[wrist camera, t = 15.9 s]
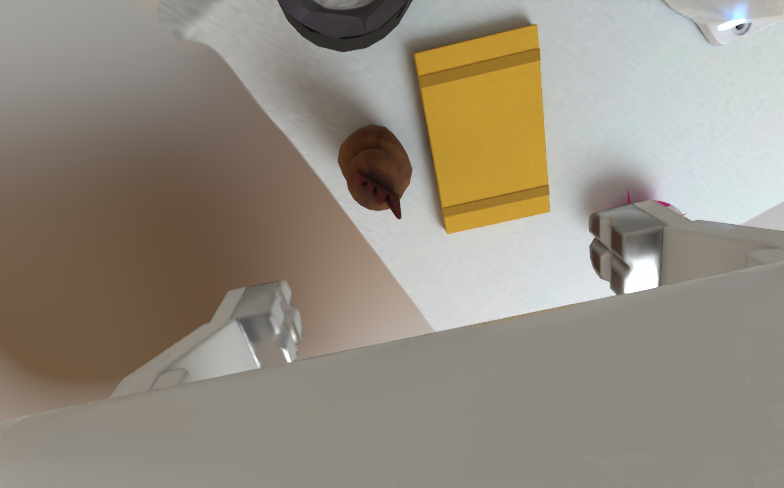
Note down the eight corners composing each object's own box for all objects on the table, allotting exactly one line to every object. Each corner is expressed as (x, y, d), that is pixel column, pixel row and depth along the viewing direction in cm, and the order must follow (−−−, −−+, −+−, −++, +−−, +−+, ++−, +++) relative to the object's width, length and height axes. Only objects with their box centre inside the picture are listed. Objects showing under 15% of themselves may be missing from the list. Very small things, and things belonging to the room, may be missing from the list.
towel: (532, 24, 39) (537, 23, 38) (546, 208, 47) (550, 212, 46) (413, 53, 40) (414, 53, 39) (445, 229, 47) (447, 234, 46)
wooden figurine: (417, 164, 44) (438, 219, 31) (371, 195, 45) (371, 261, 32) (379, 107, 42) (383, 138, 28) (331, 141, 43) (312, 187, 29)
